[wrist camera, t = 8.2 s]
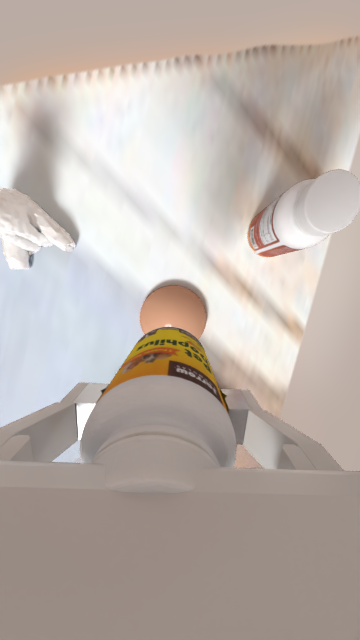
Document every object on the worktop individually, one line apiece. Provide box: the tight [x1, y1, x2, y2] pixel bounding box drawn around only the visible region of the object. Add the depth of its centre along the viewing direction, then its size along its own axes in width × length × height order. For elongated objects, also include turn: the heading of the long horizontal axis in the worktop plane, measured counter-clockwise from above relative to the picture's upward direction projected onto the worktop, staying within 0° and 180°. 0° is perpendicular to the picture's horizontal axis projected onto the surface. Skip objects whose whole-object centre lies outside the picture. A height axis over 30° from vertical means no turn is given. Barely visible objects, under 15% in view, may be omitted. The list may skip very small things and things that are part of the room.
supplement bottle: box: [80, 326, 236, 493], centre depth 9 cm, size 6×6×10 cm
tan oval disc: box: [140, 285, 206, 339], centre depth 27 cm, size 10×10×1 cm
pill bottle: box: [247, 169, 360, 257], centre depth 20 cm, size 6×6×11 cm
